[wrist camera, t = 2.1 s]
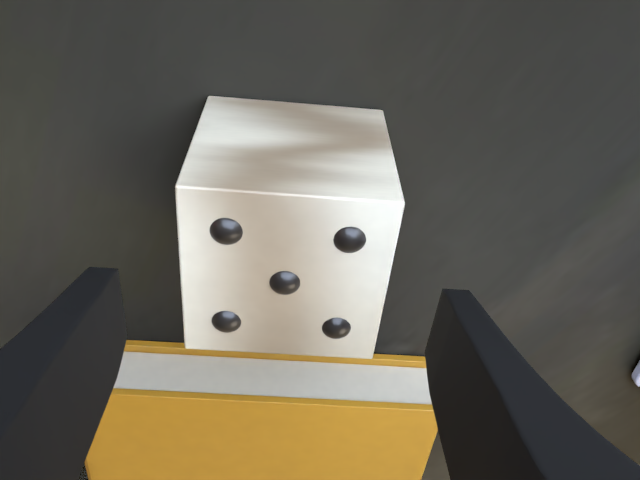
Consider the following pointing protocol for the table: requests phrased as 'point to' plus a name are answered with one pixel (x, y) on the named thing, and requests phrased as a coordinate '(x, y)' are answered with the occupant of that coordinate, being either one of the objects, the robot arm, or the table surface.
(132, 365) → the book
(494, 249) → the table surface
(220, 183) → the die
